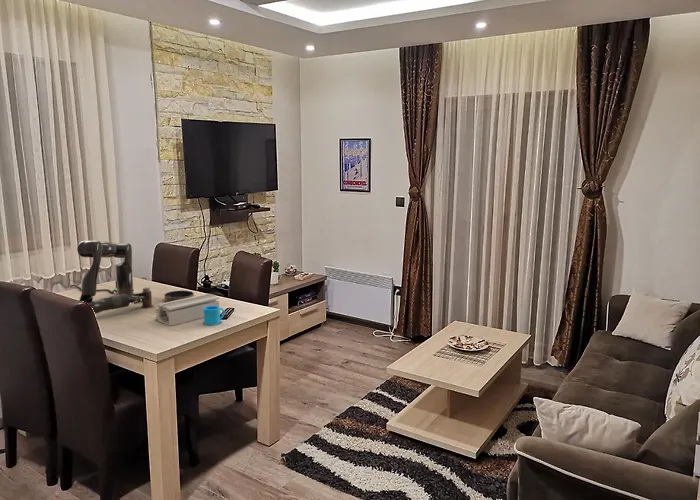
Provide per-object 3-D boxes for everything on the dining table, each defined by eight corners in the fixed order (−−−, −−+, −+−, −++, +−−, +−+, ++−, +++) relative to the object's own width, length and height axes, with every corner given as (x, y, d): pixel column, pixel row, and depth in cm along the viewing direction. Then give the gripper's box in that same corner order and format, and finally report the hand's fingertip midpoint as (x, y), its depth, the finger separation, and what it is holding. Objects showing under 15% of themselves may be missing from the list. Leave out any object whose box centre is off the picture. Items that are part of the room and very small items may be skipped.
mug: (209, 326, 261) (209, 311, 260) (201, 322, 267) (200, 307, 265) (229, 321, 270) (228, 306, 269) (220, 317, 276) (219, 303, 274)
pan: (158, 301, 305) (157, 295, 304) (178, 294, 320) (177, 289, 320) (180, 304, 298) (180, 299, 298) (199, 298, 314) (199, 292, 313)
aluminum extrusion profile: (155, 319, 270) (154, 301, 268) (204, 308, 293) (204, 291, 291) (170, 325, 261) (169, 307, 259) (219, 313, 284) (218, 296, 282)
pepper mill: (140, 307, 292) (139, 288, 290) (147, 304, 297) (146, 286, 295) (147, 308, 290) (146, 289, 288) (153, 305, 295) (152, 287, 293)
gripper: (124, 297, 274) (151, 291, 287) (111, 292, 283) (138, 287, 296) (125, 310, 276) (152, 304, 288) (112, 305, 284) (139, 299, 297)
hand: (145, 295), depth 292 cm, fingers open, 8 cm apart
